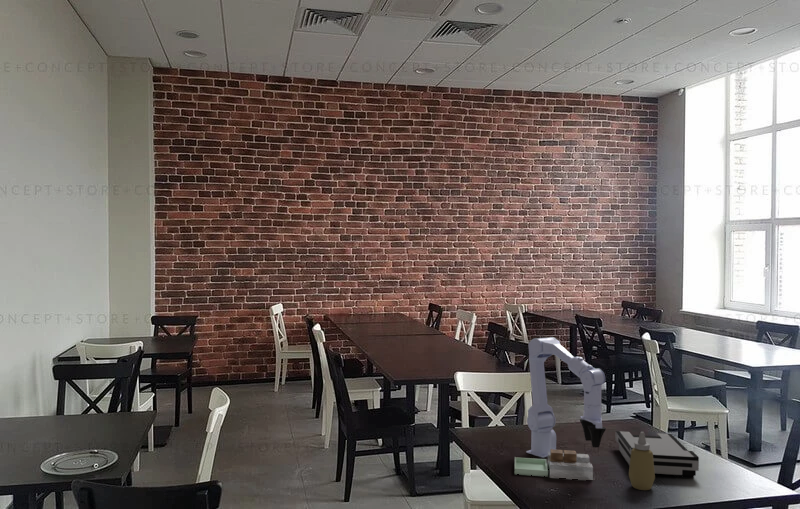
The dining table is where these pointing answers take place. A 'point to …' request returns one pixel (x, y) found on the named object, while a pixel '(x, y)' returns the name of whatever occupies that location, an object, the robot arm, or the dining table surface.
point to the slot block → (571, 468)
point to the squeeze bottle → (641, 465)
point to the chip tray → (531, 466)
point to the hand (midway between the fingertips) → (592, 443)
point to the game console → (662, 454)
